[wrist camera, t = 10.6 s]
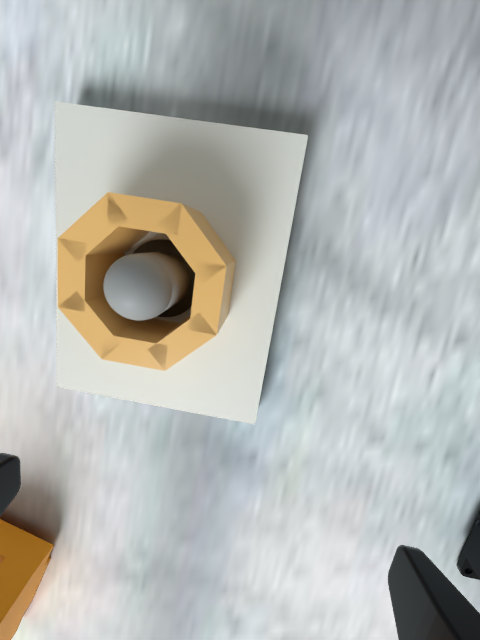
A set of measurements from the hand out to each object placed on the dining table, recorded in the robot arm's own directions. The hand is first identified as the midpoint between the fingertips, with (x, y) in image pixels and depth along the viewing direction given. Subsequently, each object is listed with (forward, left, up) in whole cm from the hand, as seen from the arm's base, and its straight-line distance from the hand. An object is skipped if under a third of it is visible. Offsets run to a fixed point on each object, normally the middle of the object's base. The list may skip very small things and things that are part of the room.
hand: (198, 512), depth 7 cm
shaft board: (+5, -4, -11) cm, 13 cm away
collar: (+4, -4, -10) cm, 11 cm away
